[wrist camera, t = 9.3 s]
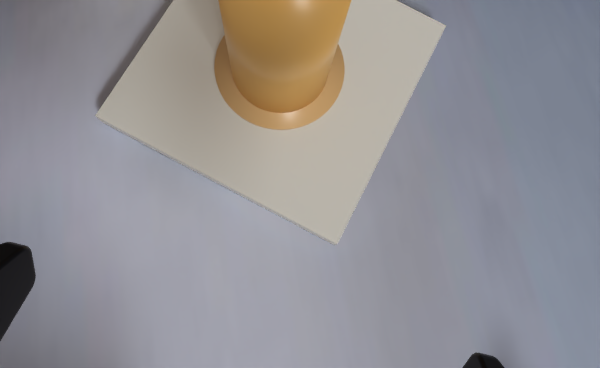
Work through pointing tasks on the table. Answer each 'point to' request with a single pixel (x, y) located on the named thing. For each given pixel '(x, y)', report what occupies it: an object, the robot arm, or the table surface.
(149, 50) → the plate
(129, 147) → the table surface
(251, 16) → the stepped tan cylinder
